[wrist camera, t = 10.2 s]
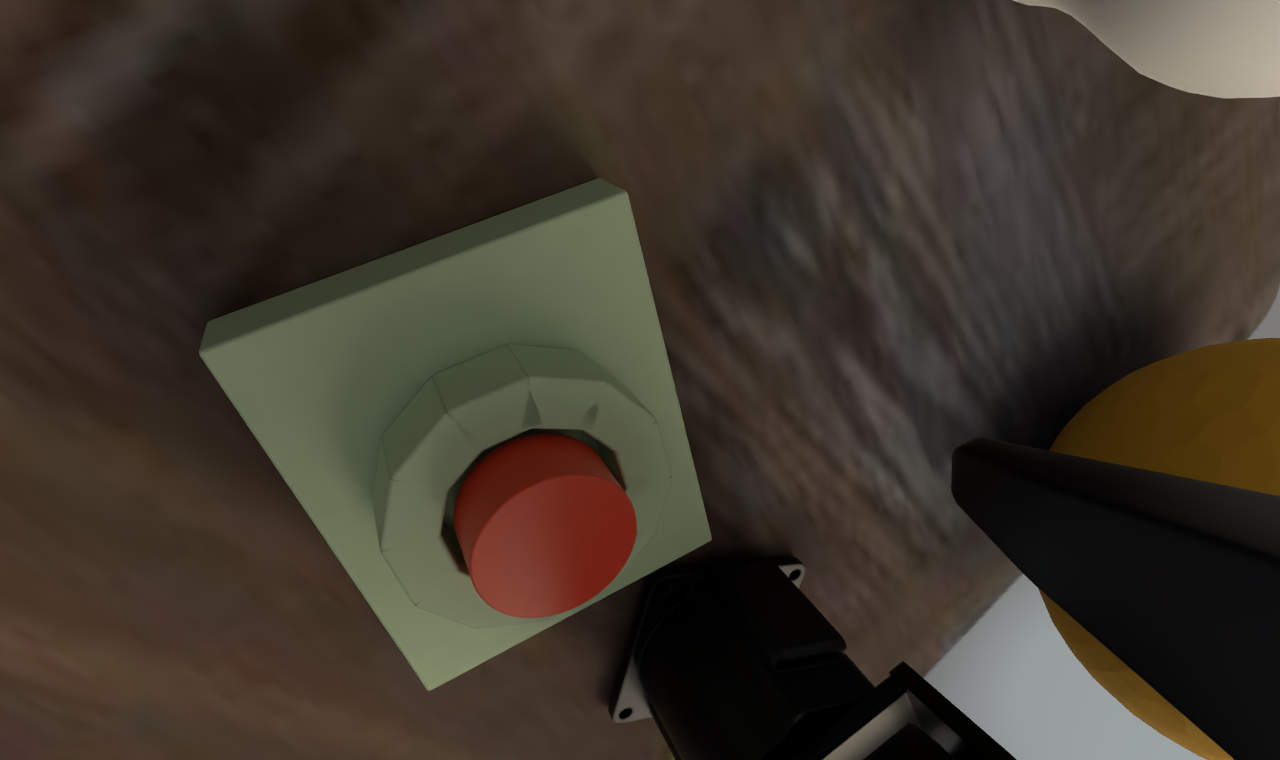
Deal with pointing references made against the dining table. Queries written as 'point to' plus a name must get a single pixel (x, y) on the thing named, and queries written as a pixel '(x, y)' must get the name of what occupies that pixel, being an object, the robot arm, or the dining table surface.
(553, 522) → the button
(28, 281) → the dining table surface
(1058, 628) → the emoji
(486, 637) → the button box
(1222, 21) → the light bulb
